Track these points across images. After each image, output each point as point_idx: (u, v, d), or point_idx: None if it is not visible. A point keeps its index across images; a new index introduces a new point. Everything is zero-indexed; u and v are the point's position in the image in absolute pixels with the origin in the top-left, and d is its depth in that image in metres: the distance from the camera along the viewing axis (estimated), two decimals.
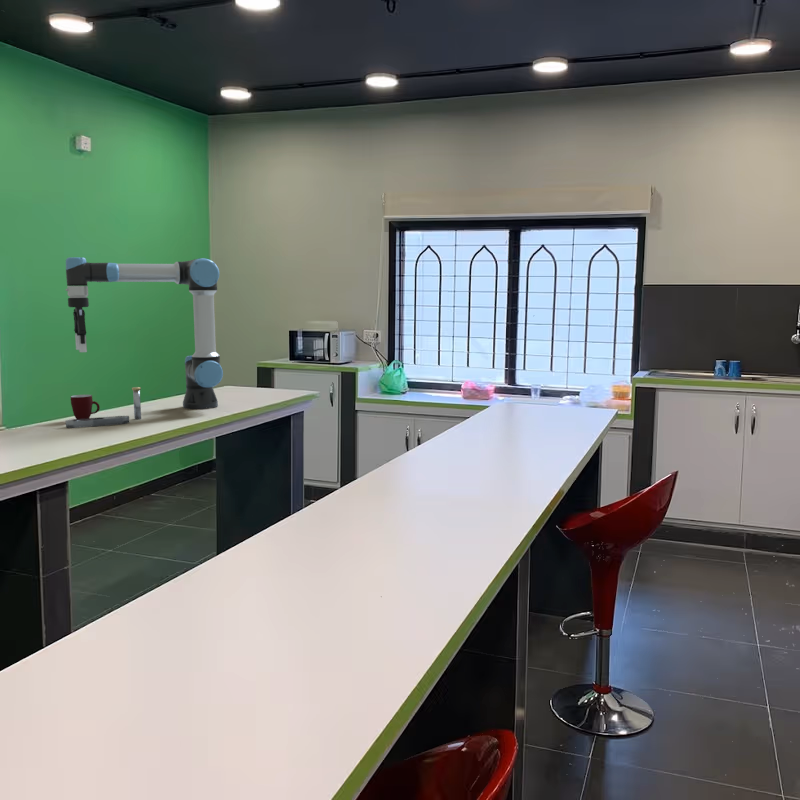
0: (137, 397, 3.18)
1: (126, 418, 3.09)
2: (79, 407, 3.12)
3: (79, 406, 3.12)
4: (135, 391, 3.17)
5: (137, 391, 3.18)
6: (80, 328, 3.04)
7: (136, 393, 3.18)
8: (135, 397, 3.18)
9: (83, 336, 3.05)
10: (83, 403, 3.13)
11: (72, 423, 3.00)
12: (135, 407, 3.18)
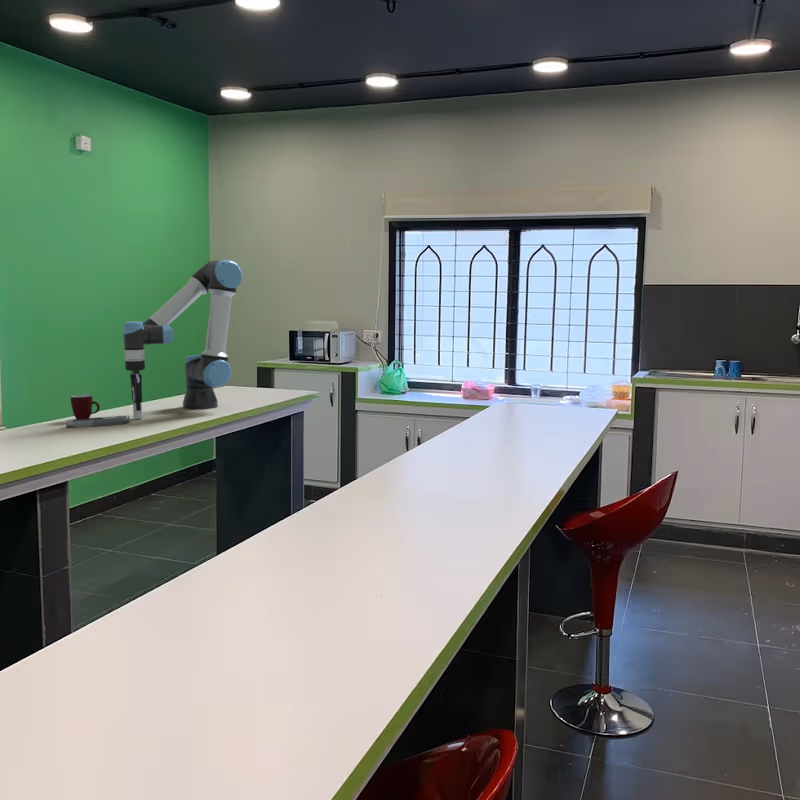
0: None
1: (126, 418, 3.09)
2: (79, 407, 3.12)
3: (79, 406, 3.12)
4: None
5: None
6: (137, 397, 3.14)
7: None
8: None
9: (139, 403, 3.17)
10: (83, 403, 3.13)
11: (72, 423, 3.00)
12: None
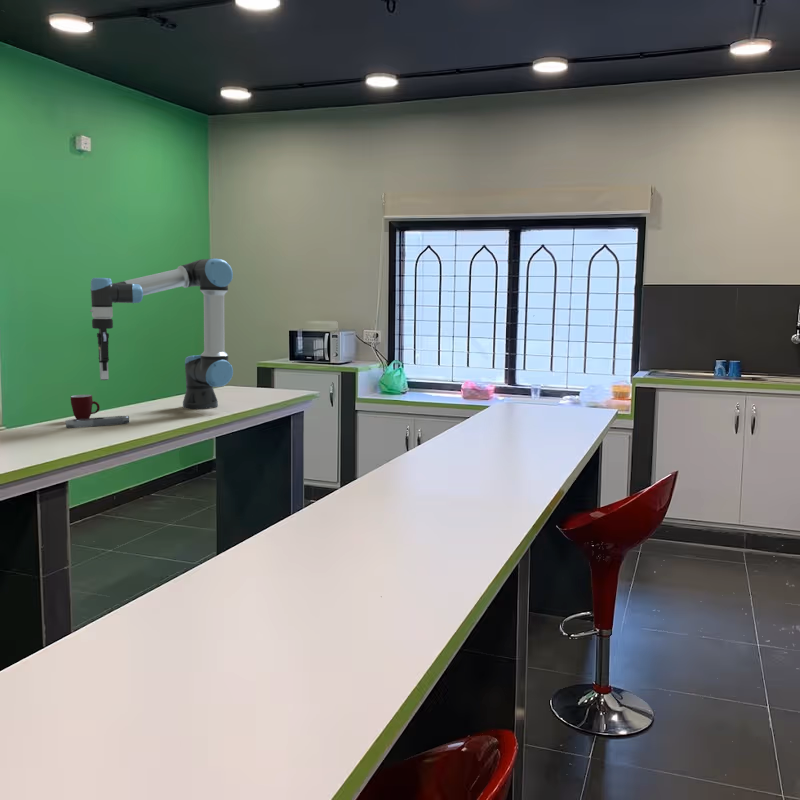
0: None
1: (126, 418, 3.09)
2: (79, 407, 3.12)
3: (79, 406, 3.12)
4: None
5: None
6: (103, 356, 3.01)
7: None
8: None
9: (105, 363, 3.04)
10: (83, 403, 3.13)
11: (72, 423, 3.00)
12: None
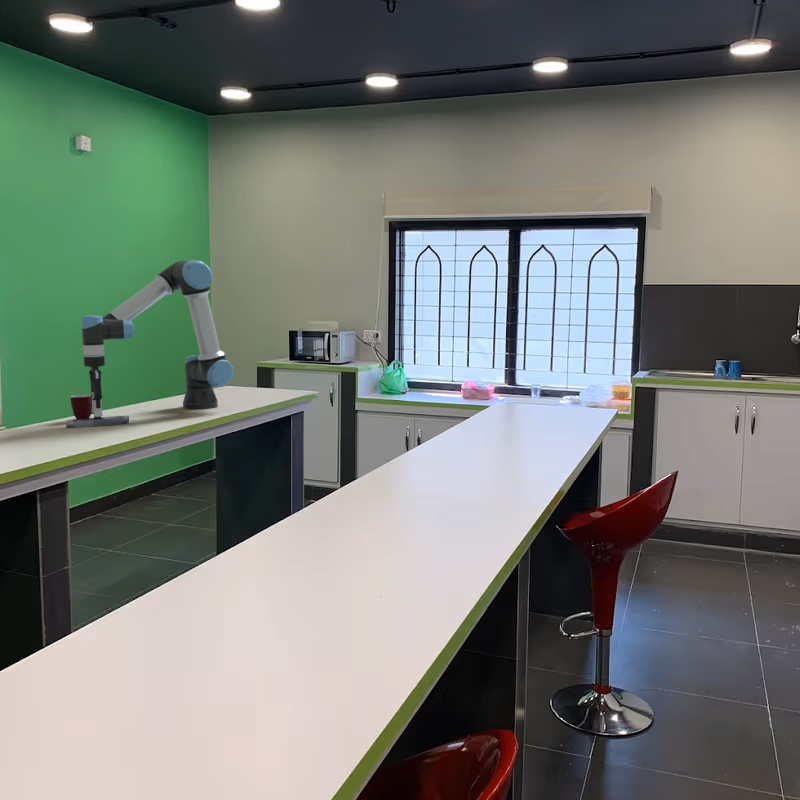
0: None
1: (126, 418, 3.09)
2: (79, 407, 3.12)
3: (79, 406, 3.12)
4: None
5: None
6: (96, 393, 2.99)
7: None
8: None
9: (99, 400, 3.01)
10: (83, 403, 3.13)
11: (72, 423, 3.00)
12: None
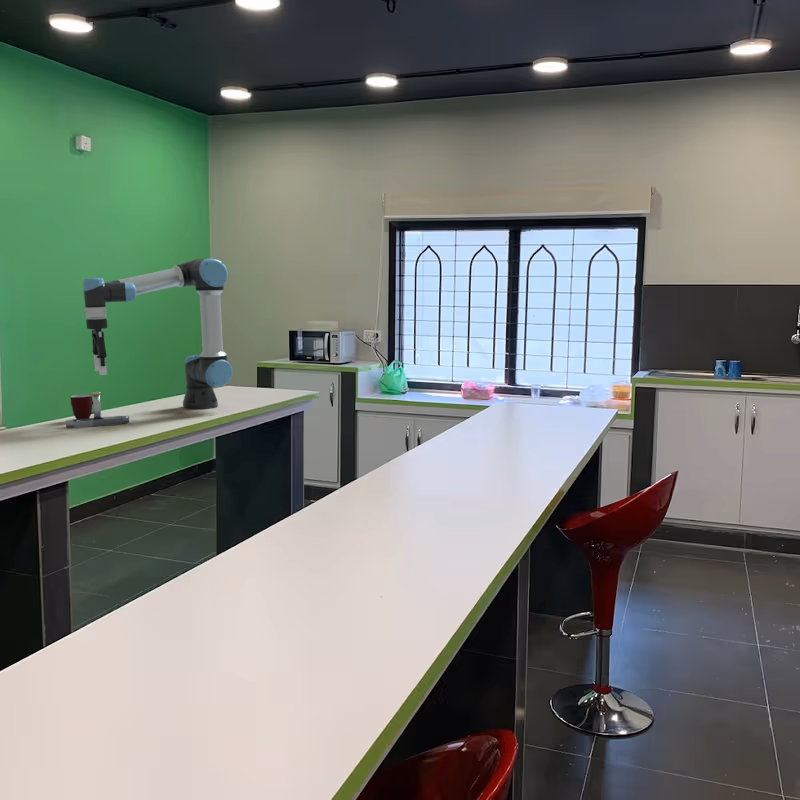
0: (97, 402, 3.05)
1: (126, 418, 3.09)
2: (79, 407, 3.12)
3: (79, 406, 3.12)
4: (95, 396, 3.04)
5: (97, 396, 3.04)
6: (100, 351, 2.97)
7: (96, 398, 3.04)
8: (95, 402, 3.04)
9: (103, 359, 2.99)
10: (83, 403, 3.13)
11: (72, 423, 3.00)
12: (95, 413, 3.05)
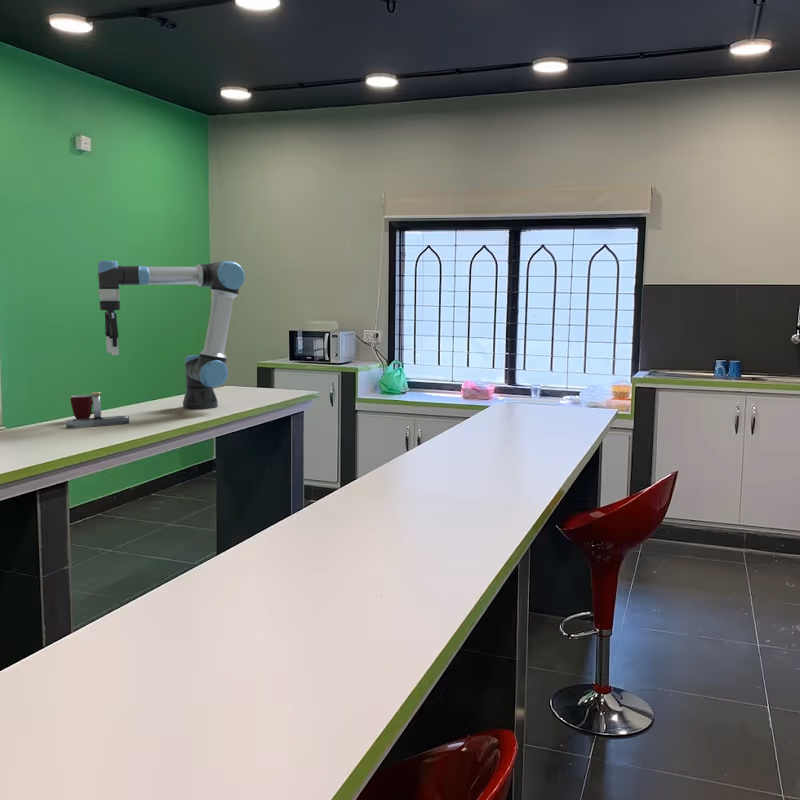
0: (97, 402, 3.05)
1: (126, 418, 3.09)
2: (79, 407, 3.12)
3: (79, 406, 3.12)
4: (95, 396, 3.04)
5: (97, 396, 3.04)
6: (112, 331, 3.05)
7: (96, 398, 3.04)
8: (95, 402, 3.04)
9: (115, 339, 3.06)
10: (83, 403, 3.13)
11: (72, 423, 3.00)
12: (95, 413, 3.05)
